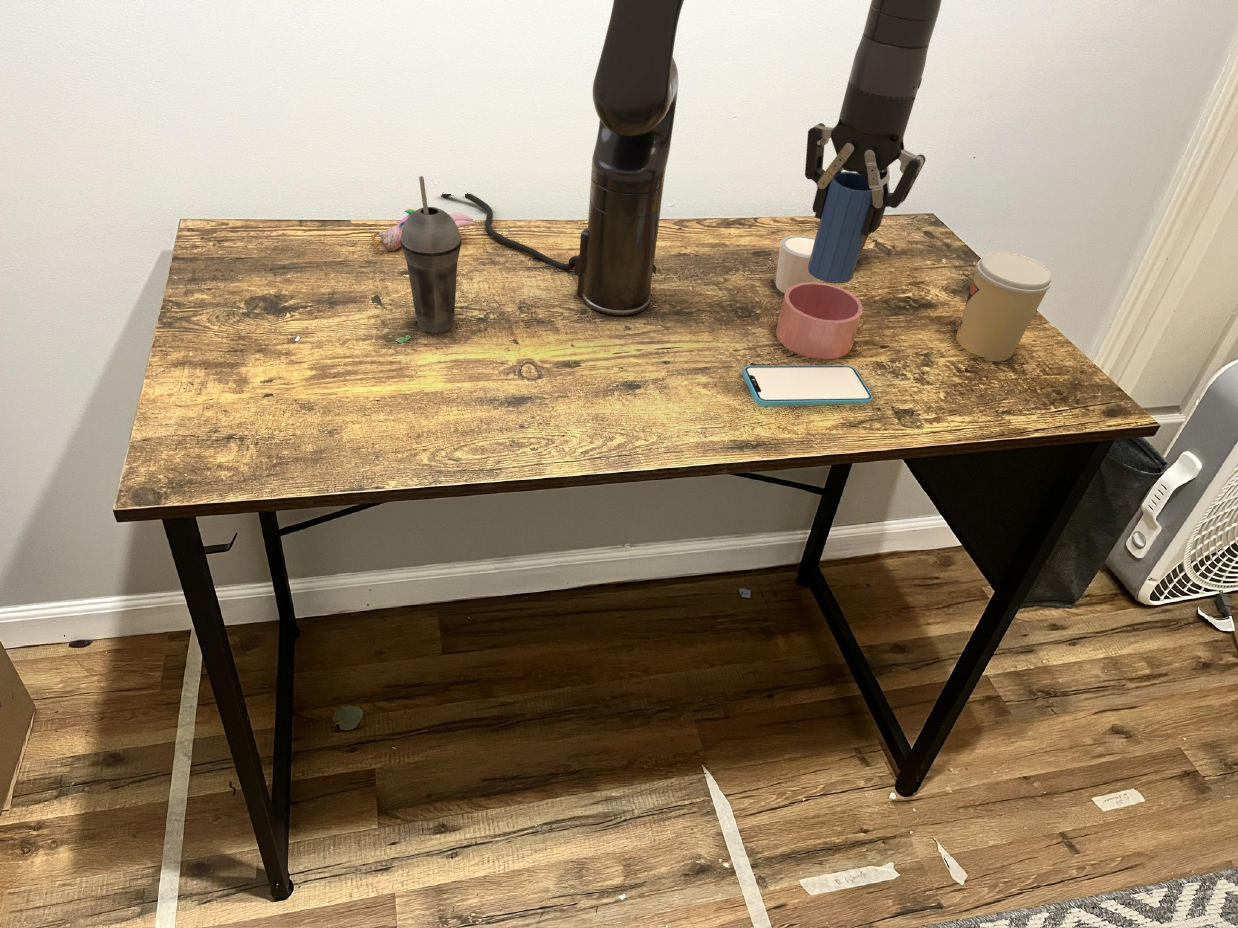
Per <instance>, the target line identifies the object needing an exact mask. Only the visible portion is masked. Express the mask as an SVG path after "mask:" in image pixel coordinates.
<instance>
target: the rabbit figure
mask: <svg viewBox="0 0 1238 928" xmlns="http://www.w3.org/2000/svg"><path fill="white" fill-rule="evenodd" d="M414 211H415V210H414V209H412V208H408V209H405V210H404V211H403V212H404V213H406V214H408V215H406V216H403V218H401V219H400V220H399V222H398V223H397V225H393V226H391V227H388V229H386V230H384V231H381V230H377V231H376V232H375V233H374V234H373V233H372V232H370V235H371V236H370V238H371V241H372V242H373V246H374V250H376V251H375V252H376V253H378V252H379V248H378V247H379V245H380V244H383V246H384V248H385V249H386V250H388V251H392V252H393V251H396V250H398V249H399V248H400V247H402V246H401V243H400V241H401V234H402V229H403V226H404V223H405V221H406V219H407V218H408V217H409V215H411V214H412V213H413V212H414ZM447 214H448V215H450V216H451V217H452V218H453V220H454V221H455V223H456V225H457V228H458V229H459V228H462V227H464V226H475V225H476V222H475V221H474V218H473V217H471V216H469V215H467V214H464V213H461V212H452V213H447ZM376 237H380V238H379V240H378V241H377V242H376V240H375V238H376Z"/></svg>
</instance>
